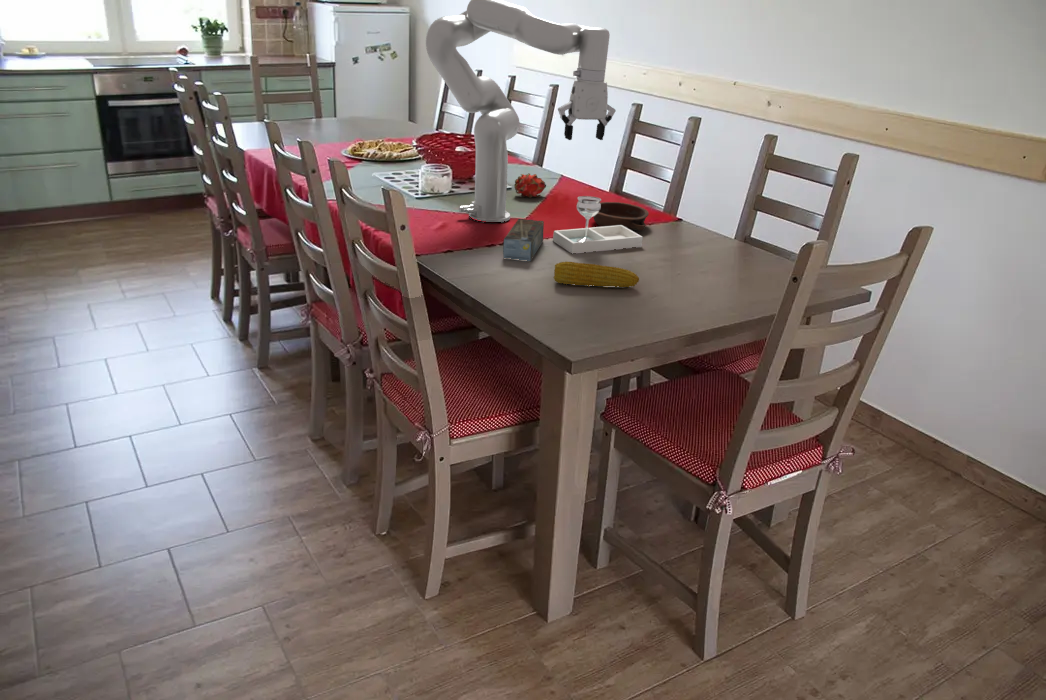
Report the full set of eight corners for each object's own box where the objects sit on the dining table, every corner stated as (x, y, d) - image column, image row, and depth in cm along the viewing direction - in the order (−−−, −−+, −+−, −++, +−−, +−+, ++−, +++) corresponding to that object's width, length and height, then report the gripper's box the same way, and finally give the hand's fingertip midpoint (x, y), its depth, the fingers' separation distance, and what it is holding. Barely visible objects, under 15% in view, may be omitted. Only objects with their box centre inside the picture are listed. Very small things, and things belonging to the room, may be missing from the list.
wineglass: (570, 241, 232) (574, 199, 227) (577, 236, 238) (581, 194, 233) (593, 245, 230) (598, 202, 225) (599, 239, 236) (604, 198, 231)
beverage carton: (501, 259, 220) (502, 235, 217) (516, 238, 237) (517, 216, 234) (530, 263, 219) (532, 239, 216) (543, 242, 236) (545, 219, 233)
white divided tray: (572, 253, 227) (572, 243, 225) (553, 240, 236) (553, 230, 235) (641, 246, 236) (642, 236, 234) (620, 234, 245) (621, 224, 244)
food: (553, 288, 203) (555, 265, 200) (552, 280, 208) (554, 257, 205) (639, 292, 203) (641, 269, 201) (636, 284, 208) (639, 262, 206)
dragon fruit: (509, 201, 277) (541, 204, 283) (520, 192, 270) (553, 195, 275) (507, 177, 279) (539, 181, 284) (518, 167, 271) (551, 171, 277)
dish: (619, 239, 242) (621, 222, 240) (573, 218, 258) (574, 203, 256) (663, 231, 251) (665, 215, 249) (616, 212, 268) (617, 197, 265)
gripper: (567, 77, 220) (561, 142, 227) (625, 78, 226) (617, 142, 233) (556, 72, 226) (550, 136, 233) (612, 74, 232) (605, 136, 240)
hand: (583, 139), depth 233 cm, fingers open, 9 cm apart
